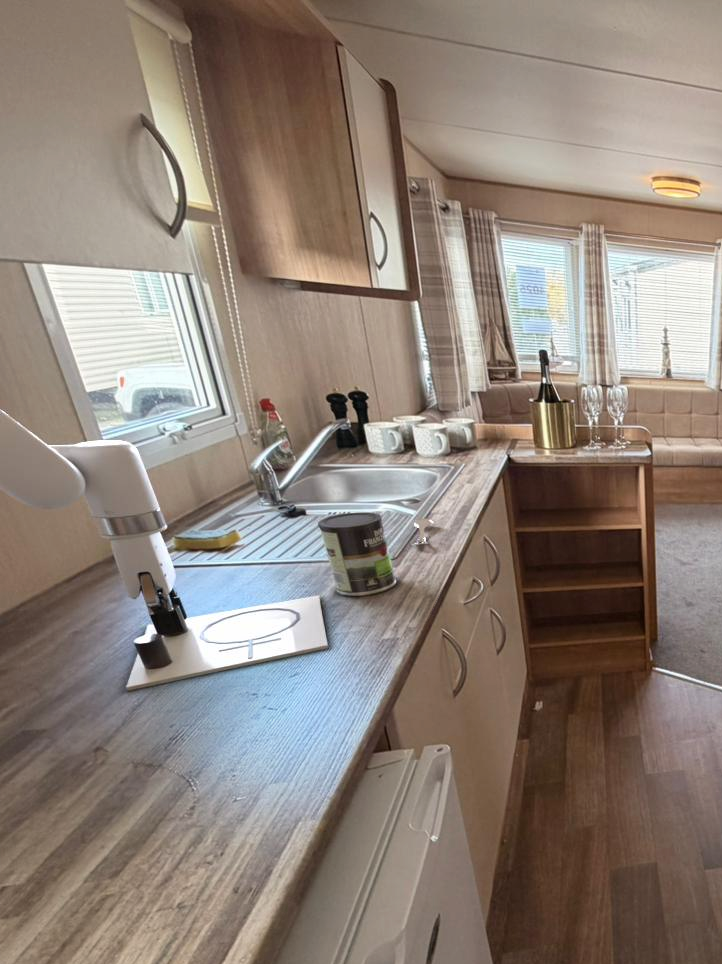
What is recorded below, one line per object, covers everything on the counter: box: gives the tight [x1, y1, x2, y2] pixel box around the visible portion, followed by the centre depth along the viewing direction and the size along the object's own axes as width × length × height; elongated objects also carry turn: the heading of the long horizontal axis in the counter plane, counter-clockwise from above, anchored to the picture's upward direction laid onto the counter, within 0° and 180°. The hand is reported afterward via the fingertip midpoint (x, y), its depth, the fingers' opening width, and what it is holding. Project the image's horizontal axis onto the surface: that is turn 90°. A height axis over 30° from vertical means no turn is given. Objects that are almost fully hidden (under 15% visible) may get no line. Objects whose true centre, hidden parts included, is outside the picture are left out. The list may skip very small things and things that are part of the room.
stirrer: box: [410, 518, 434, 546], centre depth 155 cm, size 20×4×5 cm
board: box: [125, 594, 329, 692], centre depth 107 cm, size 24×24×1 cm
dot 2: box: [163, 605, 188, 637], centre depth 106 cm, size 3×3×4 cm
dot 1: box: [132, 634, 173, 669], centre depth 97 cm, size 3×3×4 cm
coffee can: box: [317, 511, 397, 597], centre depth 126 cm, size 10×10×14 cm
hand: (173, 625), depth 106 cm, fingers open, 4 cm apart
